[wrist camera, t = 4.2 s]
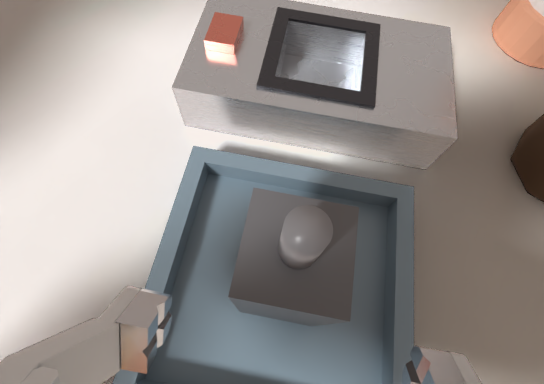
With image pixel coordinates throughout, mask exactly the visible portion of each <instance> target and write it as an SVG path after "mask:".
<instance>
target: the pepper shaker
mask: <svg viewBox="0 0 544 384" xmlns="http://www.w3.org/2000/svg"><path fill="white" fill-rule="evenodd" d="M492 33H493V37H494V39H495V41H496V43H497V45H498V46H499V47H500V48H501V49H502V50H503V51H504V52H505V53H506V54H507V55H509V56H511V57H512V58H514V59H515V60H517V61H519V62H521V63H524V64H526V65H529V66H532V67H537V68H543V69H544V0H510V1H509V3H508V4H507V5H506V7H505V8H504V9H503V10H502V12H501V13H500V14H499V16H498V17H497V18H496V20H495V21H494V24H493V26H492Z"/></svg>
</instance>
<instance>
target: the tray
mask: <svg viewBox="0 0 544 384" xmlns="http://www.w3.org/2000/svg"><path fill="white" fill-rule="evenodd" d="M253 188H259V189H265V190H270V191H275V192H281V193H286V194H291V195H297V196H302V197H307V198H312V199H318V200H323V201H328V202H334V203H339V204H344V205H350V206H355V207H359V215H358V228H357V241H356V254H355V267H354V280H353V293H352V305H351V318H350V322H343V323H335V324H327V325H318V326H307V325H302V324H297V323H292V322H287V321H282V320H277V319H272V318H267V317H262V316H257V315H252V314H247V313H242V312H240V311H239V310H238V309H237V308H236V306H235V305H234V304H233V303H232V301H231V300H230V299H229V298H228V295H229V291H230V286H231V282H232V278H233V273H234V269H235V265H236V261H237V256H238V252H239V248H240V243H241V239H242V235H243V230H244V226H245V222H246V218H247V213H248V209H249V205H250V200H251V196H252V192H253ZM145 289H147V290H151V291H156V292H160V293H164V294H169V295H171V296H172V306H171V308H170V309H169V312H170V314H171V315H172V316H171V324H170V329H169V332H168V334H167V337H166V339H165V341H164V343H163V345H161V346H160V347H158V348H157V356H156V358H155V360H154V362H153V364H152V365H151V367H150V369H149V371H148V373H147V374H144V373H139V372H133V371H128V370H122V369H120V371H119V372H117V373H116V374H115V377H114V380H113V383H112V384H402V372H403V369H404V366H405V364H406V363H408V362H409V361H411V360H412V359H411V356H410V352H411V350H412V348H413V347H414V187H413V186H408V185H402V184H397V183H392V182H386V181H381V180H375V179H370V178H365V177H359V176H354V175H348V174H343V173H338V172H332V171H327V170H321V169H316V168H311V167H305V166H300V165H294V164H289V163H284V162H278V161H273V160H267V159H262V158H257V157H251V156H246V155H240V154H235V153H230V152H224V151H219V150H213V149H208V148H203V147H197V146H193V149H192V152H191V155H190V157H189V160H188V163H187V166H186V169H185V172H184V175H183V178H182V181H181V184H180V187H179V190H178V193H177V196H176V199H175V201H174V204H173V207H172V210H171V213H170V216H169V219H168V222H167V225H166V228H165V231H164V234H163V237H162V240H161V243H160V245H159V248H158V251H157V254H156V257H155V260H154V263H153V266H152V269H151V272H150V275H149V278H148V281H147V284H146V286H145Z"/></svg>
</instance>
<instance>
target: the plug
mask: <svg viewBox="0 0 544 384" xmlns="http://www.w3.org/2000/svg"><path fill="white" fill-rule="evenodd" d="M358 215H359V207H355V206H350V205H344V204H339V203H334V202H328V201H323V200H318V199H312V198H307V197H302V196H297V195H291V194H286V193H281V192H275V191H270V190H265V189H259V188H253V192H252V196H251V200H250V205H249V209H248V213H247V218H246V222H245V226H244V230H243V235H242V239H241V243H240V248H239V252H238V256H237V261H236V265H235V269H234V273H233V278H232V282H231V286H230V291H229V295H228V298H229V299H230V300H231V301H232V303H233V304H234V305H235V306H236V308H237V309H238V310H239V311H240V312H242V313H247V314H252V315H257V316H262V317H267V318H272V319H277V320H282V321H287V322H292V323H297V324H302V325H307V326H318V325H327V324H335V323H343V322H350V318H351V305H352V293H353V280H354V267H355V254H356V241H357V228H358Z"/></svg>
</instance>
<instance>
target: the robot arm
mask: <svg viewBox="0 0 544 384" xmlns="http://www.w3.org/2000/svg"><path fill="white" fill-rule="evenodd" d="M171 306H172V296H171V295H169V294H164V293H160V292H156V291H151V290H147V289H141V288H137V287H133V286H127V287H125V288H124V289H123V290H122V291H121V293H120V294H119V295H118V296H117V297H116V298H115V299H114V301H113V302H112V303H111V304H110V305H109V306H108V308H107V309H106V310H105V311H104V312H103V313H102V314H101V316H100V317H99V318H98V319H95V318H92V319H90V320H88V321H86V322H83V323H81V324H79V325H77V326H74V327H72V328H70V329H68V330H65V331H63V332H61V333H59V334H56V335H54V336H52V337H50V338H47V339H45V340H43V341H41V342H38V343H36V344H34V345H32V346H29V347H27V348H25V349H23V350H20V351H18V352H16V353H14V354H11V355H9V356H7V357H6V358H4V359H3V360H2V361H1V362H0V384H102V383H104V382H105V381H106V380H108V379H109V378H110V377H112V376H113V375H115V374H116V373H117V372H119V371H120V369H122V370H128V371H133V372H139V373H144V374H147V373H148V371H149V369H150V367H151V365H152V364H153V362H154V360H155V358H156V356H157V348H158V347H160V346H161V345H163V343H164V341H165V339H166V337H167V334H168V332H169V329H170V324H171V316H172V315H171V314H170V312H169V309H170V308H171ZM410 356H411V359H412V360H411V361H409V362H408V363H406V364H405V366H404V369H403V372H402V384H482V383H481V381H480V380H479V378H478V376H477V374H476V373H475V371H474V369H473V367H472V366H471V364H470V362H469V360H468V359H467V357H466V356H465V355H463V354H460V353H454V352H449V351H442V350H437V349H432V348H427V347H422V346H417V345H415V346H414V347H413V348H412V350H411V352H410Z"/></svg>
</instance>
